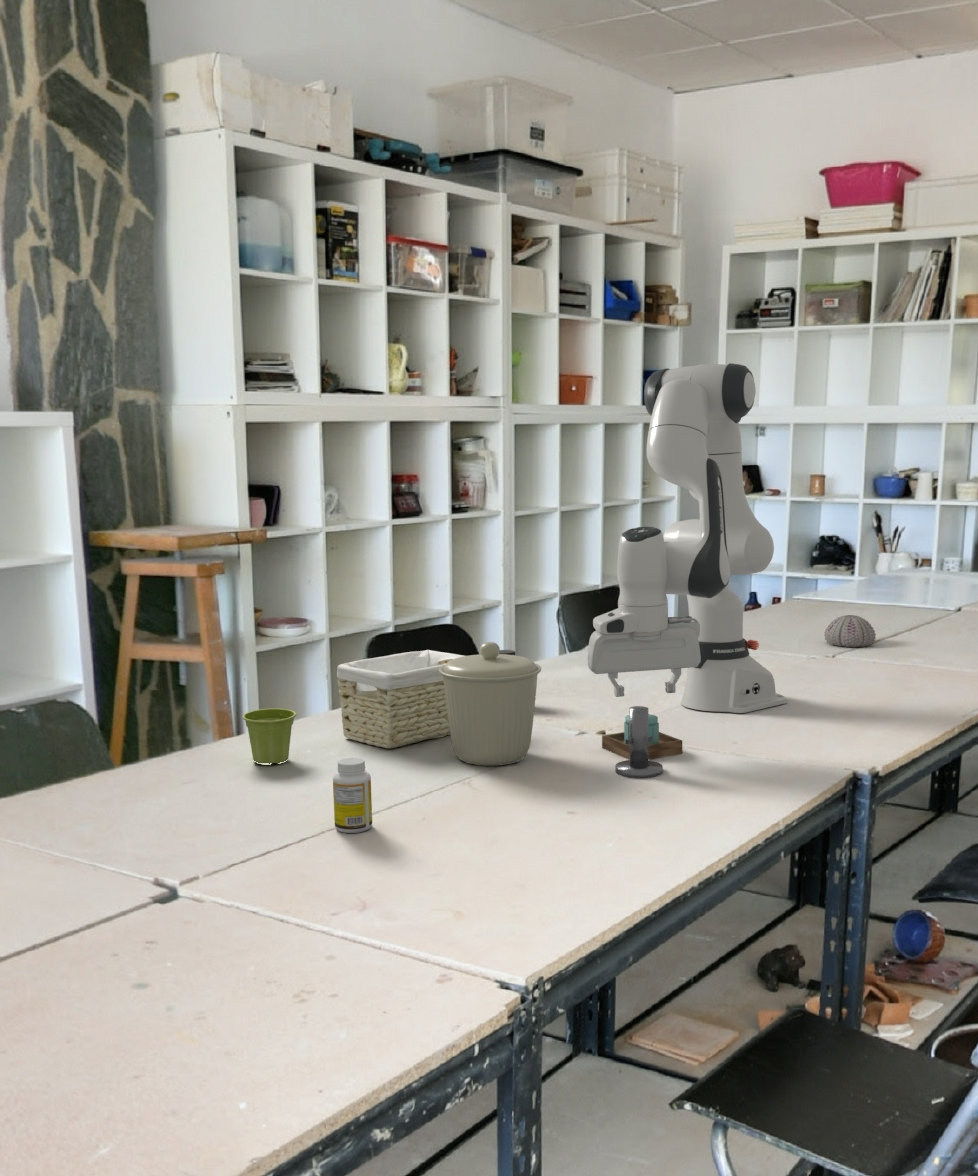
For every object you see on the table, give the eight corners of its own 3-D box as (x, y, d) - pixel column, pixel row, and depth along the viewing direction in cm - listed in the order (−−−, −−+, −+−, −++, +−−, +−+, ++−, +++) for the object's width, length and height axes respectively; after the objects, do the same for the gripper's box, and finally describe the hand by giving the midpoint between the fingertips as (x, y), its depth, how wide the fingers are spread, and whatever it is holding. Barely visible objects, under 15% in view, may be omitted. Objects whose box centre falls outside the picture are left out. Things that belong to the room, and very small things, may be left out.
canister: (474, 778, 201) (472, 655, 199) (422, 755, 217) (419, 640, 214) (562, 762, 211) (561, 643, 208) (506, 740, 226) (505, 630, 223)
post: (645, 762, 209) (645, 701, 208) (672, 773, 202) (672, 710, 201) (606, 769, 206) (606, 706, 204) (632, 780, 199) (632, 715, 197)
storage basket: (426, 717, 246) (425, 646, 245) (482, 730, 235) (481, 656, 233) (334, 739, 230) (331, 663, 228) (389, 754, 218) (387, 674, 216)
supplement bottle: (354, 819, 181) (352, 753, 180) (380, 827, 177) (378, 759, 176) (326, 829, 177) (324, 761, 175) (352, 837, 173) (350, 768, 172)
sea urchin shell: (867, 650, 312) (868, 620, 311) (816, 646, 320) (817, 617, 319) (881, 643, 324) (882, 613, 322) (831, 639, 331) (832, 610, 330)
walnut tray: (649, 740, 224) (649, 728, 224) (682, 753, 215) (682, 740, 215) (602, 748, 220) (602, 735, 219) (633, 761, 210) (633, 748, 210)
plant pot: (307, 756, 217) (305, 710, 216) (281, 770, 208) (279, 722, 207) (261, 753, 220) (259, 707, 219) (234, 766, 211) (232, 718, 210)
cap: (663, 742, 218) (663, 716, 217) (648, 750, 213) (648, 722, 212) (634, 738, 221) (634, 712, 220) (619, 745, 216) (619, 718, 216)
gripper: (694, 612, 219) (695, 686, 221) (584, 619, 216) (586, 694, 218) (704, 618, 213) (706, 694, 215) (591, 625, 210) (594, 702, 212)
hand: (644, 694), depth 216 cm, fingers open, 8 cm apart
